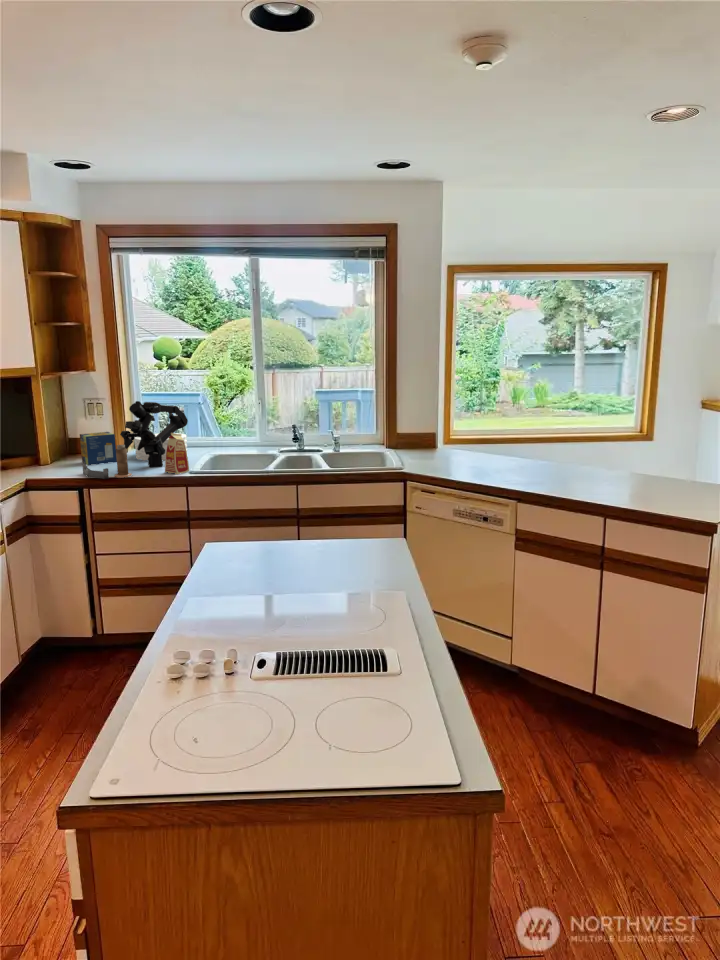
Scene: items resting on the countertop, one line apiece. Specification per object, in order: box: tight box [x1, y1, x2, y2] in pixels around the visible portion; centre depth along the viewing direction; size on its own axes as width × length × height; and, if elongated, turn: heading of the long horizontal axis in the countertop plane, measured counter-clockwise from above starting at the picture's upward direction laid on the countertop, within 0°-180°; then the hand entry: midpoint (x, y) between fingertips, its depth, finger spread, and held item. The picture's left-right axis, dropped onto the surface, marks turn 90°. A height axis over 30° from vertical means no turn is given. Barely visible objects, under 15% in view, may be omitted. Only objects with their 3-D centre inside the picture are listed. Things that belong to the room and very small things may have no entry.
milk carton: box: [164, 432, 190, 475], centre depth 315 cm, size 9×9×20 cm
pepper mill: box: [116, 444, 129, 475], centre depth 306 cm, size 5×5×14 cm
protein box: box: [79, 431, 117, 466], centre depth 341 cm, size 10×15×16 cm
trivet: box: [113, 472, 133, 479], centre depth 307 cm, size 8×8×1 cm
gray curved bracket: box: [82, 463, 110, 480], centre depth 306 cm, size 5×21×5 cm, turn 52°
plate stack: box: [134, 432, 189, 461], centre depth 359 cm, size 28×28×12 cm
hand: (131, 450), depth 313 cm, fingers open, 9 cm apart
